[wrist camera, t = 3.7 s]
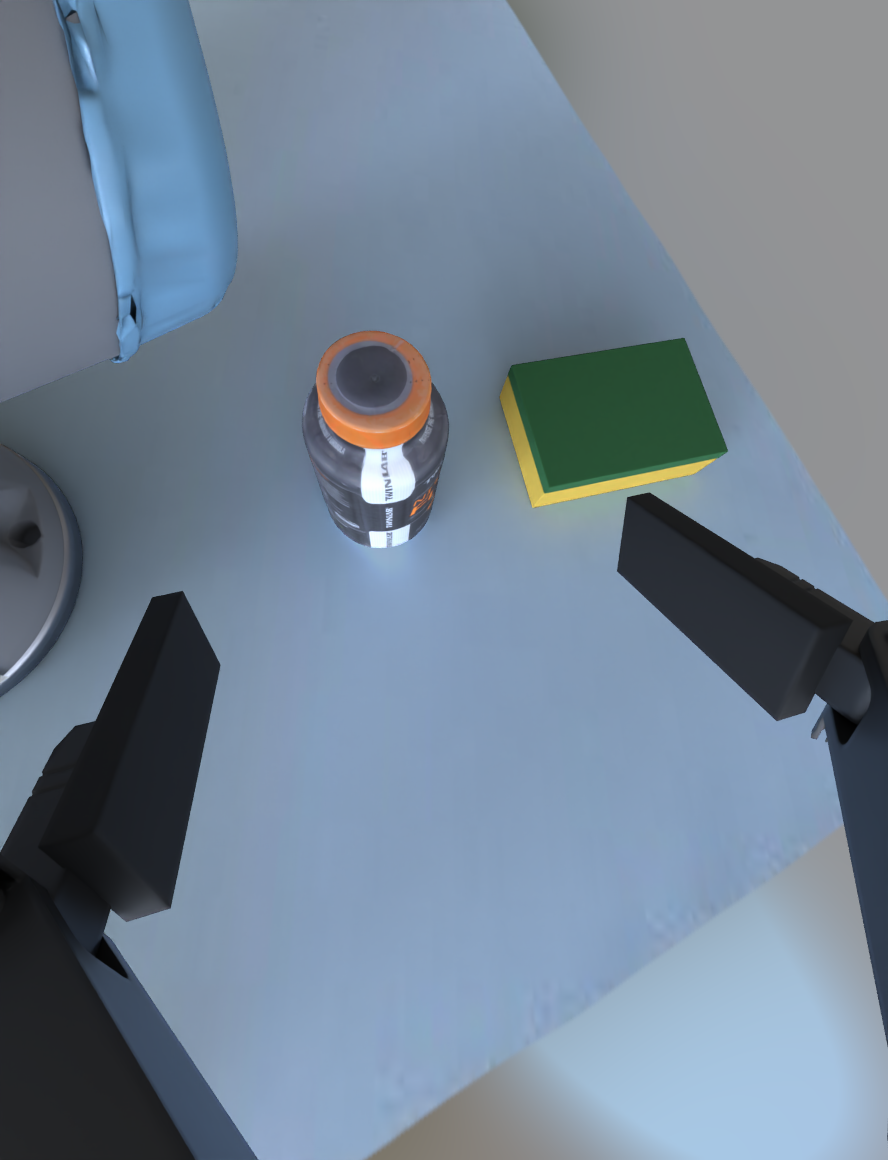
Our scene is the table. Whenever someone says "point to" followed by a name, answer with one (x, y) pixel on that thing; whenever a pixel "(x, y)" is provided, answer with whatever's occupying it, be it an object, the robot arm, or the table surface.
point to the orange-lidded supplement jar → (376, 437)
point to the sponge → (609, 420)
